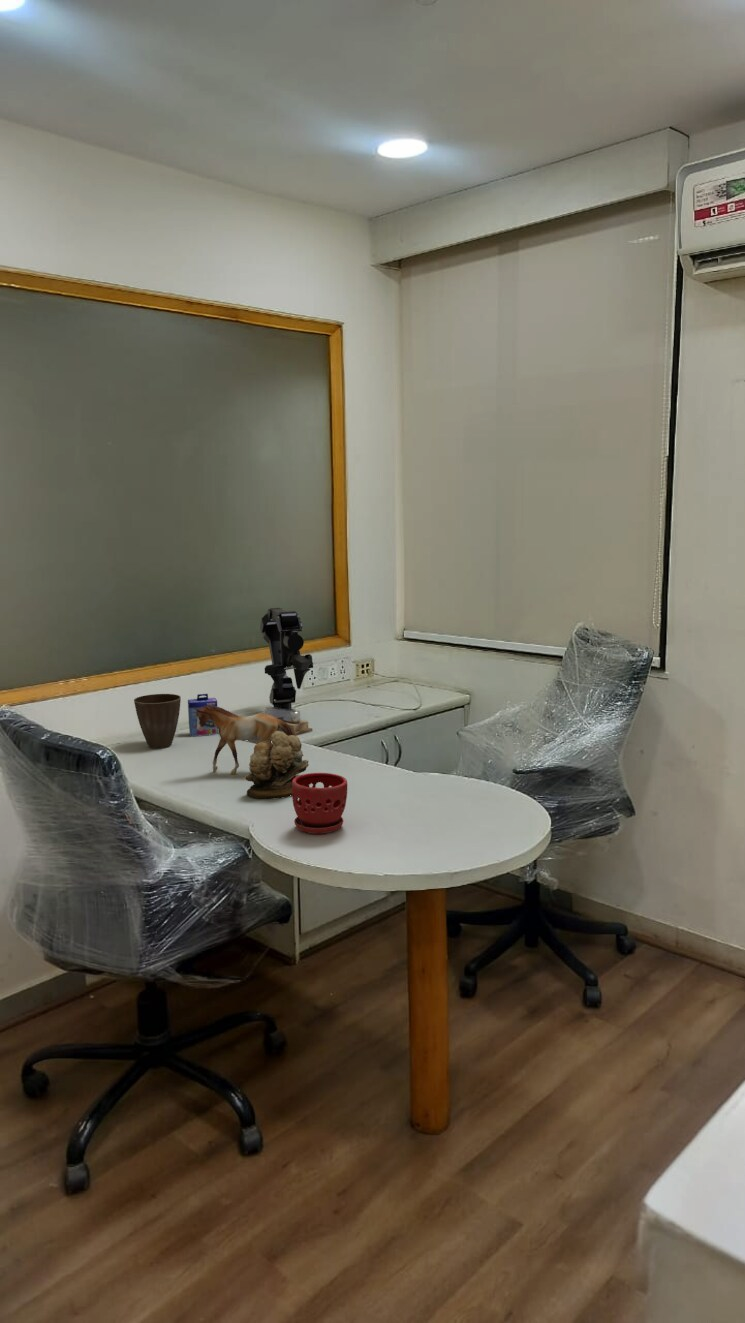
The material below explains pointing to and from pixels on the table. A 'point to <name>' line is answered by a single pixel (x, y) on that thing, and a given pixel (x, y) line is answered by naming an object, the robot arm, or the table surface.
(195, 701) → the ink cartridge box
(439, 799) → the table surface
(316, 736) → the table surface
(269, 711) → the lock bar
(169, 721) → the plant pot
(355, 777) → the table surface
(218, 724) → the horse figurine
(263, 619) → the robot arm
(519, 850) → the table surface
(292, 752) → the beige lumpy carved figure
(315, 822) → the plant pot
